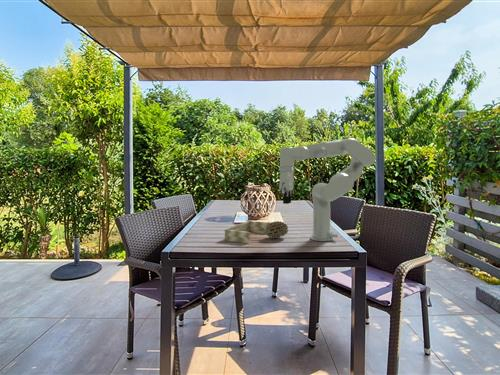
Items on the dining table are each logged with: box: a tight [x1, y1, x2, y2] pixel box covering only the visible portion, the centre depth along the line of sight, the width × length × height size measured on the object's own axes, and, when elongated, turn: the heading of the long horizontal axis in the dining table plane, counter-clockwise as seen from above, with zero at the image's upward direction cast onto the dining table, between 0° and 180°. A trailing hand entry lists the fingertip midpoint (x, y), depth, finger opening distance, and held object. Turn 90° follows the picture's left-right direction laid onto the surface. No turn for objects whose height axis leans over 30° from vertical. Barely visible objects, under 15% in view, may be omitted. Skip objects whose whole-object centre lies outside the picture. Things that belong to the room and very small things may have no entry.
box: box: [224, 220, 272, 244], centre depth 191 cm, size 16×28×6 cm, turn 152°
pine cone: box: [251, 220, 289, 240], centre depth 185 cm, size 22×10×10 cm, turn 94°
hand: (287, 202), depth 178 cm, fingers open, 2 cm apart
